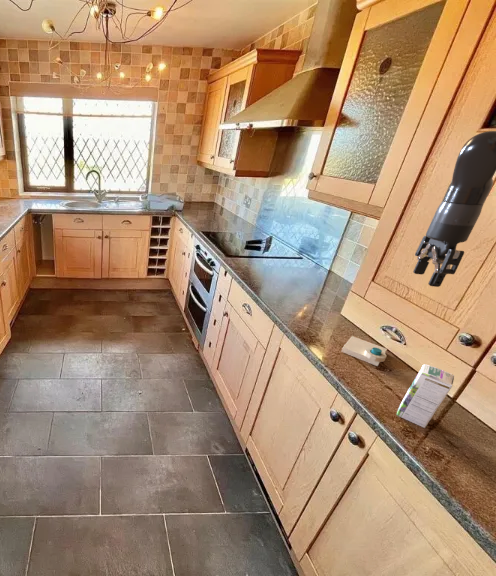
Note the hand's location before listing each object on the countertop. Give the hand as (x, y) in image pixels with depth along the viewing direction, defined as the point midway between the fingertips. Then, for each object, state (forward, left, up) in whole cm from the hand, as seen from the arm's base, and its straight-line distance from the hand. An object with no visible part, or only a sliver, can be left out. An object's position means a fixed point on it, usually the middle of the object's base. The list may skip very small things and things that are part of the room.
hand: (425, 279), depth 84 cm
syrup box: (-10, +17, -31) cm, 37 cm away
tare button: (+3, -1, -28) cm, 28 cm away
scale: (+6, -5, -31) cm, 32 cm away
